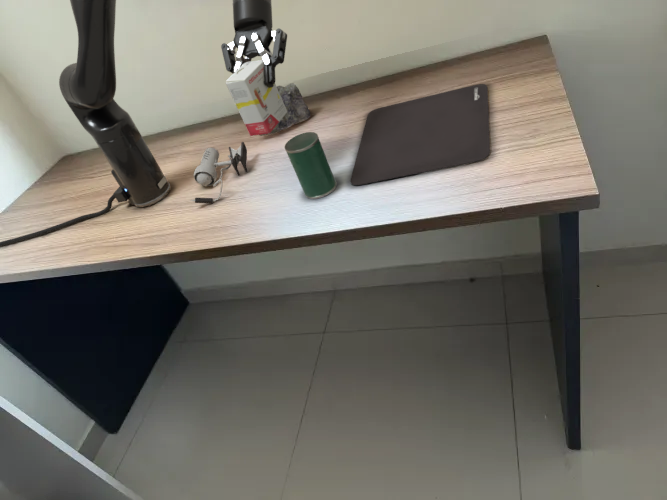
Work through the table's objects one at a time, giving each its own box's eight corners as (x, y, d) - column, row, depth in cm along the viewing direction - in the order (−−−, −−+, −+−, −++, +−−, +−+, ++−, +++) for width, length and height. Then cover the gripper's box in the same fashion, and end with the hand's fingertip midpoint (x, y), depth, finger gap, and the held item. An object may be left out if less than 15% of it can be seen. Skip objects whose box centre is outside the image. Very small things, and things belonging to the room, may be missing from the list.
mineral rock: (258, 142, 154) (241, 105, 149) (266, 122, 163) (250, 86, 157) (308, 129, 151) (292, 91, 145) (313, 108, 159) (299, 71, 153)
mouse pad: (490, 159, 114) (490, 158, 114) (348, 187, 123) (348, 186, 123) (487, 82, 138) (487, 81, 138) (368, 111, 147) (368, 110, 147)
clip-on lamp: (240, 210, 137) (253, 152, 148) (229, 189, 132) (243, 131, 144) (190, 216, 140) (207, 159, 151) (177, 196, 135) (196, 138, 147)
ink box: (269, 134, 124) (244, 79, 117) (249, 137, 126) (223, 82, 120) (288, 111, 129) (265, 57, 123) (269, 114, 132) (245, 61, 125)
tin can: (300, 201, 126) (279, 153, 119) (310, 181, 130) (291, 135, 124) (331, 197, 123) (311, 148, 117) (340, 177, 128) (322, 129, 121)
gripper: (293, 4, 126) (297, 88, 124) (232, 21, 132) (235, 101, 130) (274, -13, 119) (278, 75, 117) (210, 6, 125) (213, 90, 123)
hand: (255, 89), depth 124 cm, fingers closed on ink box, 5 cm apart
